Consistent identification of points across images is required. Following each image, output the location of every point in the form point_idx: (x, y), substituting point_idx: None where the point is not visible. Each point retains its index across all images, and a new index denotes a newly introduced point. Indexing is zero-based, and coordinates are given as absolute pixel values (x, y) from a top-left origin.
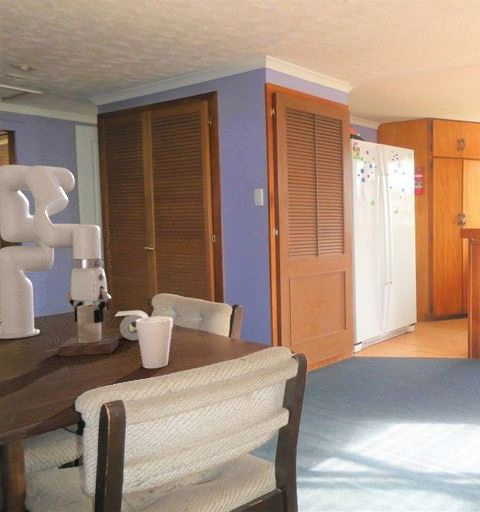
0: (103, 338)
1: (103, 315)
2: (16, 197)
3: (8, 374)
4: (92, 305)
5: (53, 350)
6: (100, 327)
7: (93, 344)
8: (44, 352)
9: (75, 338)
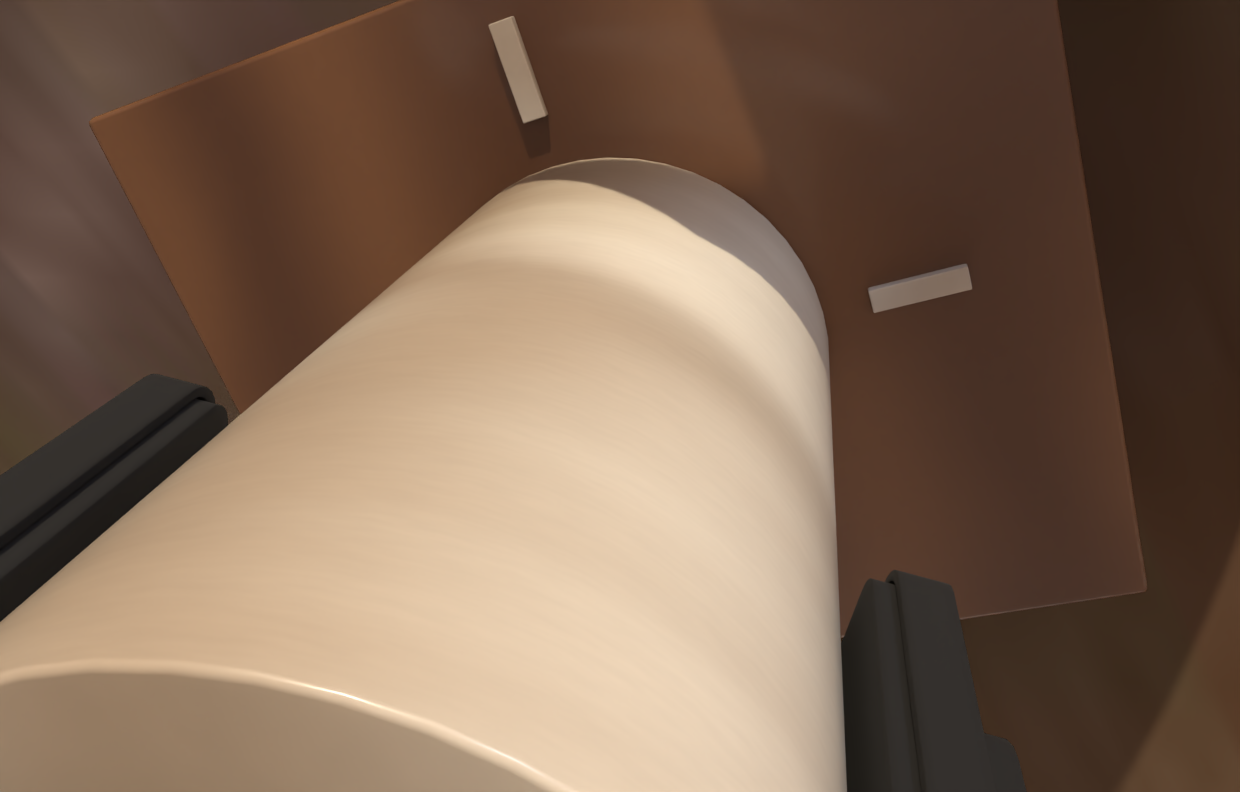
0: (776, 126)
1: (978, 713)
2: None
3: None
4: None
5: (97, 288)
6: (831, 468)
7: (847, 618)
8: (81, 399)
9: (195, 141)
